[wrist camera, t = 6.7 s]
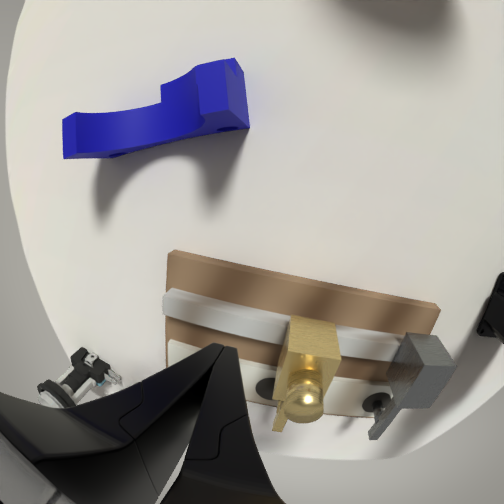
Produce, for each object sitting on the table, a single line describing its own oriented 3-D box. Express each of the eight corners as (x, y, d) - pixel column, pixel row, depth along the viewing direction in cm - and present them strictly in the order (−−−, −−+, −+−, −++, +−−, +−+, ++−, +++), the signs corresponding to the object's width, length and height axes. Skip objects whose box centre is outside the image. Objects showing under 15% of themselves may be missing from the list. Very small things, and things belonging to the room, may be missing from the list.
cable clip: (244, 73, 16) (221, 37, 11) (250, 128, 18) (228, 109, 12) (110, 110, 19) (62, 100, 13) (113, 158, 20) (63, 158, 14)
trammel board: (435, 303, 18) (449, 319, 16) (378, 409, 22) (382, 429, 20) (174, 249, 21) (157, 260, 18) (171, 370, 25) (159, 387, 22)
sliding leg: (333, 315, 18) (346, 390, 11) (296, 410, 21) (290, 477, 14) (291, 307, 18) (284, 381, 11) (263, 404, 21) (249, 471, 14)
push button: (121, 361, 26) (71, 417, 17) (123, 389, 28) (82, 441, 18) (78, 336, 27) (26, 381, 17) (83, 365, 28) (39, 409, 19)
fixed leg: (432, 329, 17) (457, 366, 12) (381, 415, 20) (389, 453, 16) (402, 325, 17) (424, 365, 13) (355, 414, 21) (359, 454, 16)
